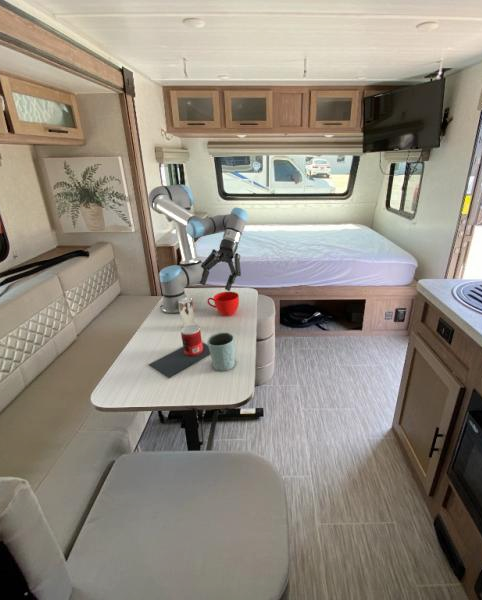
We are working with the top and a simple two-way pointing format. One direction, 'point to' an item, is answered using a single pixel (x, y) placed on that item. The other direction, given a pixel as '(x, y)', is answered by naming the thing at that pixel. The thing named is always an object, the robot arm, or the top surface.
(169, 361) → the mat
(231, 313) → the ceramic cup
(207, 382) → the top surface
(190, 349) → the canned food
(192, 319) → the beer glass
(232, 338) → the pale teal tumbler
